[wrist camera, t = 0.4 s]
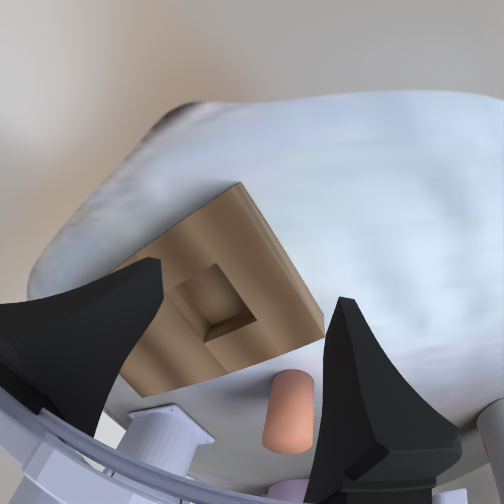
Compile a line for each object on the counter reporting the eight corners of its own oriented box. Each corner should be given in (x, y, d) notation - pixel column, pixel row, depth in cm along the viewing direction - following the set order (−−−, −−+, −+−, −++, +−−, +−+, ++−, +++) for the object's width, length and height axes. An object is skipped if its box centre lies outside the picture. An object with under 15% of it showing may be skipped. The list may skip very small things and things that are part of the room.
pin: (284, 401, 27) (277, 457, 21) (264, 377, 26) (252, 436, 20) (320, 389, 26) (320, 448, 20) (302, 364, 25) (298, 425, 19)
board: (153, 379, 29) (142, 397, 27) (82, 293, 27) (65, 308, 24) (323, 314, 23) (325, 337, 20) (240, 181, 20) (230, 188, 17)
